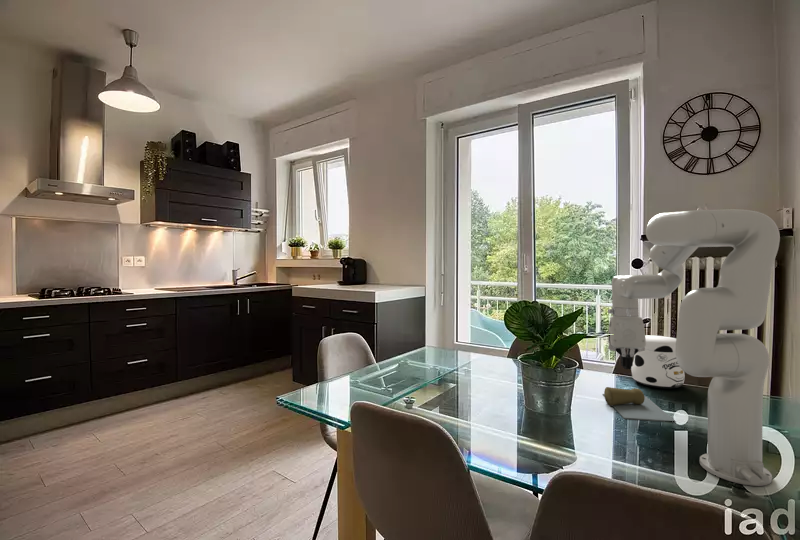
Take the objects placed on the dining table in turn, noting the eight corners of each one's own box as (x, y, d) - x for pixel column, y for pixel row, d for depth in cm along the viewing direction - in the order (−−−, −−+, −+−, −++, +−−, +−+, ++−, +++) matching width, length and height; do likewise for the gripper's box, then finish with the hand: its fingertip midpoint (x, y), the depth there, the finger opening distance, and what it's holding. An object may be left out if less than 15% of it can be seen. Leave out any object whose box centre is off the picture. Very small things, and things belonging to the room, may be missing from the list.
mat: (675, 422, 117) (675, 420, 117) (624, 418, 120) (624, 417, 120) (645, 397, 138) (645, 396, 138) (602, 394, 141) (602, 393, 141)
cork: (613, 407, 128) (648, 407, 127) (612, 388, 128) (646, 388, 128) (605, 403, 134) (637, 403, 133) (603, 385, 134) (636, 385, 134)
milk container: (687, 395, 140) (687, 345, 139) (631, 387, 149) (630, 340, 149) (682, 382, 155) (682, 336, 154) (631, 376, 164) (631, 333, 163)
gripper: (604, 313, 127) (605, 370, 126) (655, 314, 124) (657, 372, 123) (597, 311, 134) (599, 365, 134) (645, 311, 131) (647, 366, 131)
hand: (626, 368), depth 128 cm, fingers closed
